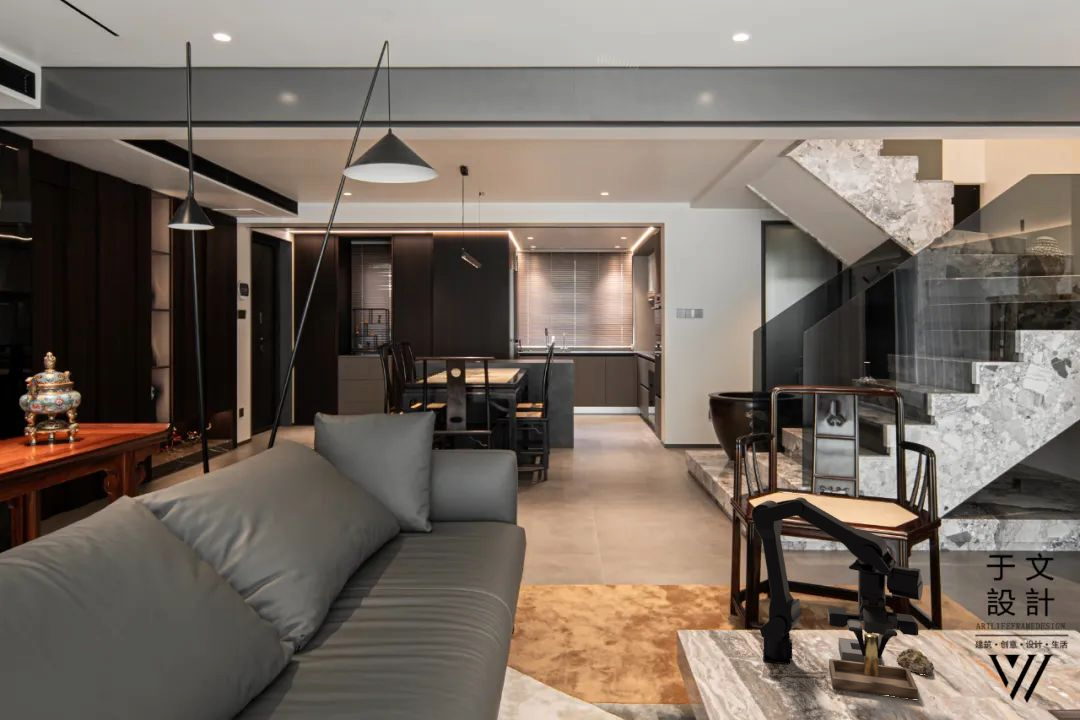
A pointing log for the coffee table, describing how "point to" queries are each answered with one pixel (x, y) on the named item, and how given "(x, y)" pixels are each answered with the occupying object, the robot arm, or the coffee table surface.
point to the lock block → (852, 651)
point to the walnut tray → (872, 679)
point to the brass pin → (871, 654)
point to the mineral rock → (915, 662)
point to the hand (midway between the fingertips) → (871, 656)
